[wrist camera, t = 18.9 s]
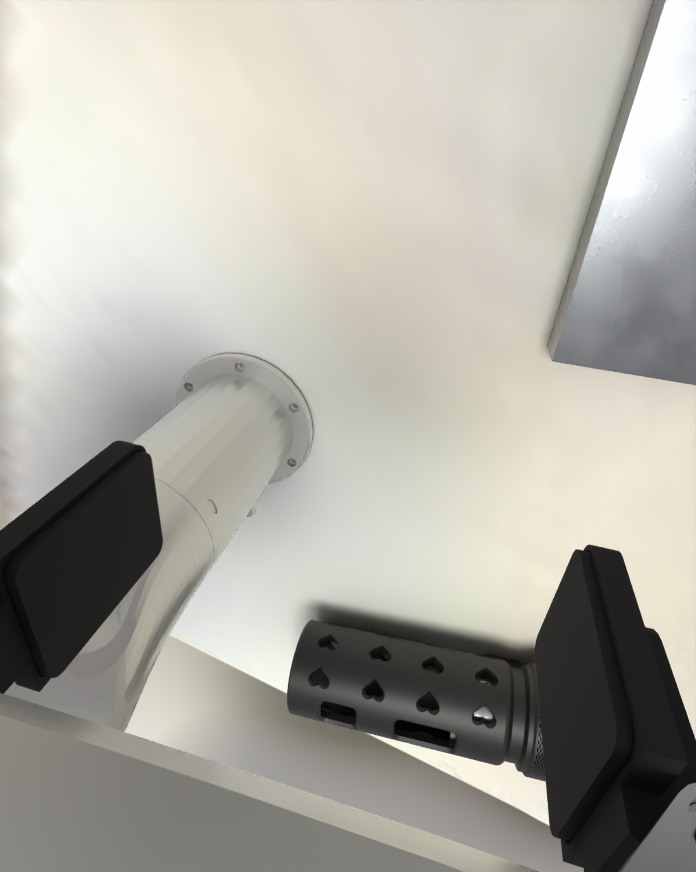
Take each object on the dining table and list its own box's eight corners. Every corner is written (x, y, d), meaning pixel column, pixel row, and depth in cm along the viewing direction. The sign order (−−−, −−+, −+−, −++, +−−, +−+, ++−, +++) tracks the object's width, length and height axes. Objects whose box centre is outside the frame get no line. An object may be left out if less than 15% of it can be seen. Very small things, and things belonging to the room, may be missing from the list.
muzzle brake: (316, 591, 54) (282, 677, 45) (595, 646, 48) (618, 756, 40) (318, 649, 59) (288, 736, 50) (573, 705, 53) (589, 815, 44)
